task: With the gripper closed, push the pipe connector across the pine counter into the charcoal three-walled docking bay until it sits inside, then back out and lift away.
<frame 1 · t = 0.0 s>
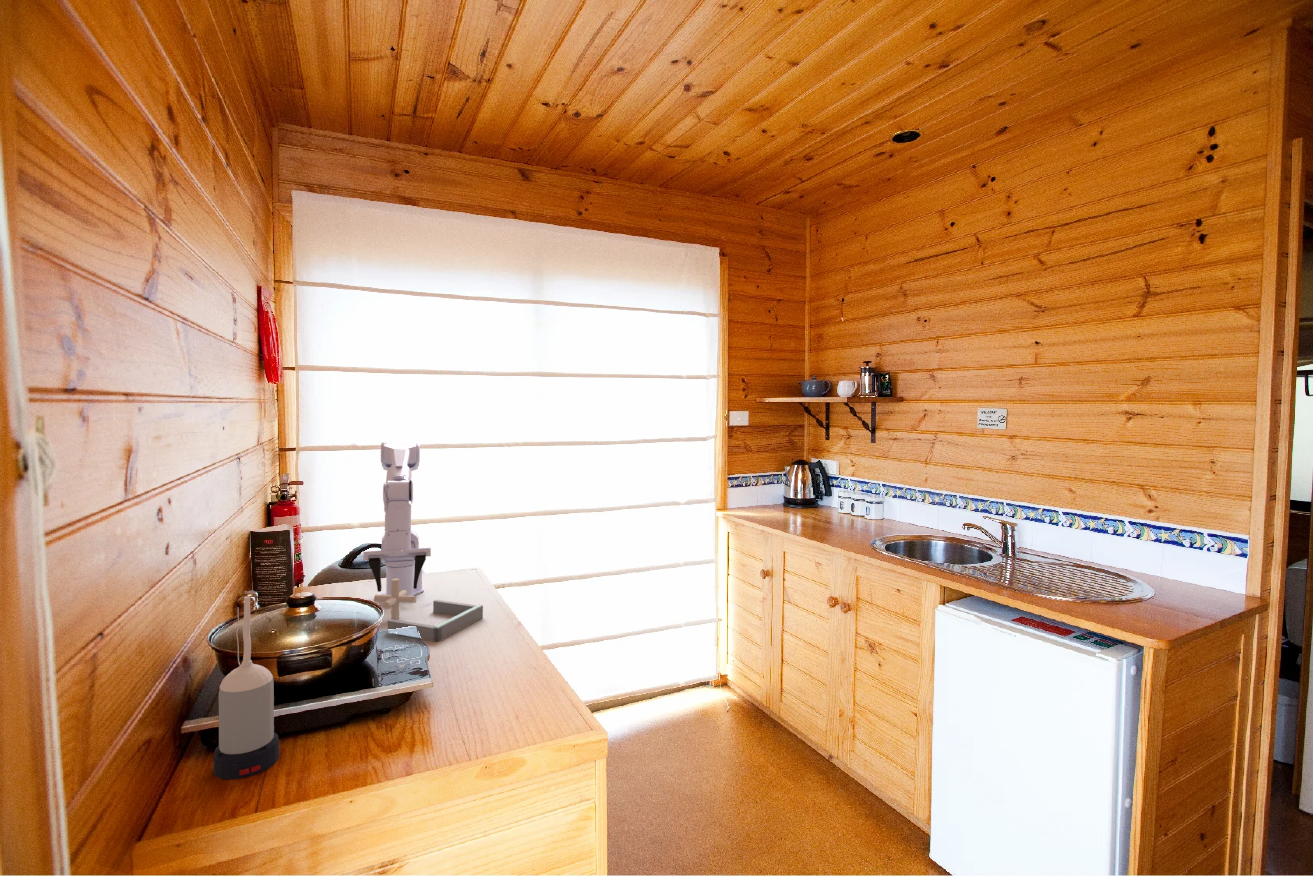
hand: (397, 589, 142), 11 cm above the worktop, tool pointing down, fingers open, 7 cm apart
docking bay: (435, 624, 149), on the worktop
pipe connector: (395, 619, 153), on the worktop
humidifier: (247, 764, 90), on the worktop
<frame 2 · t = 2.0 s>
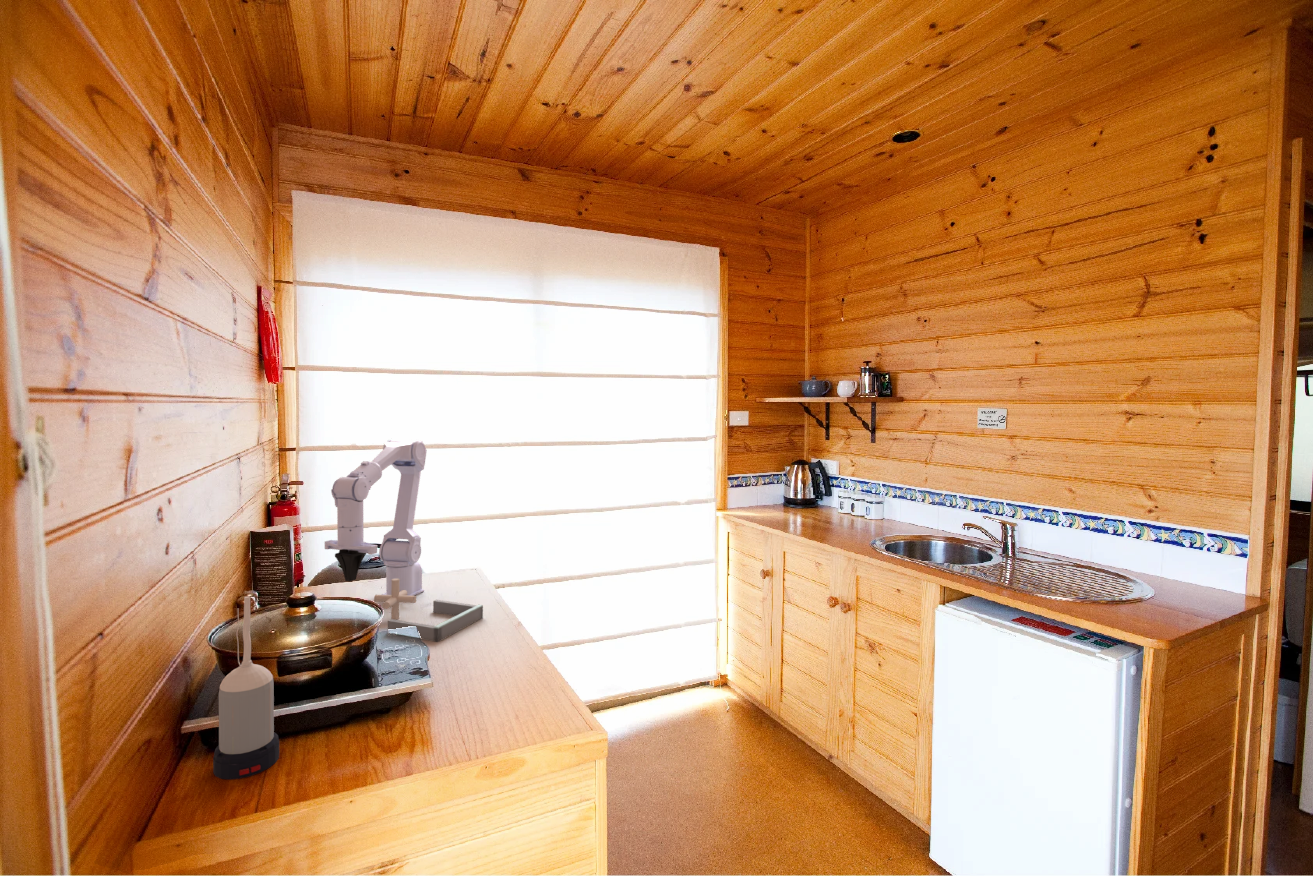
hand: (350, 580, 150), 10 cm above the worktop, tool pointing down, fingers closed
nothing on the worktop moved.
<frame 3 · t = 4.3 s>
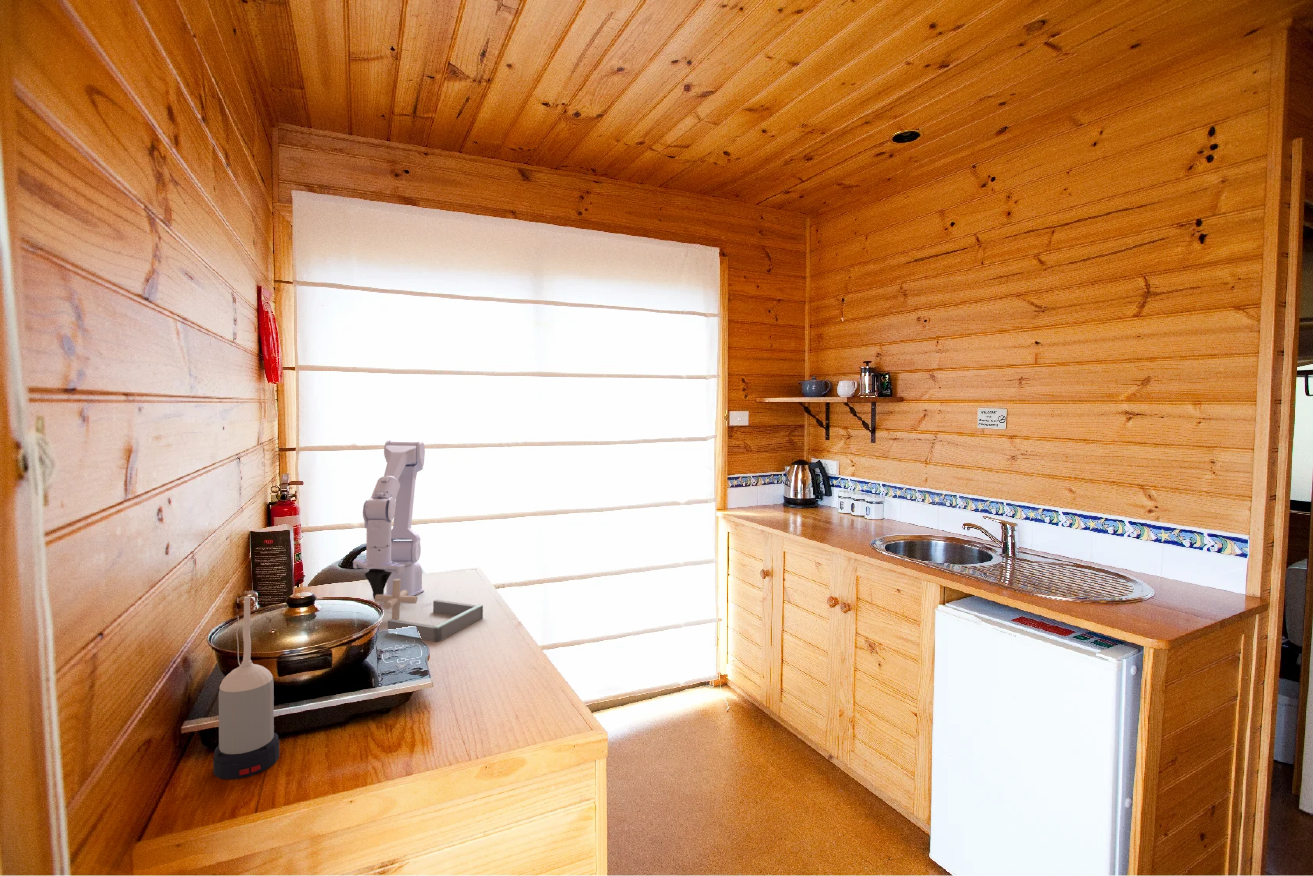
hand: (378, 598, 154), 5 cm above the worktop, tool pointing down, fingers closed, pressing on pipe connector
pipe connector: (395, 619, 153), on the worktop, touching gripper
everything else where it was.
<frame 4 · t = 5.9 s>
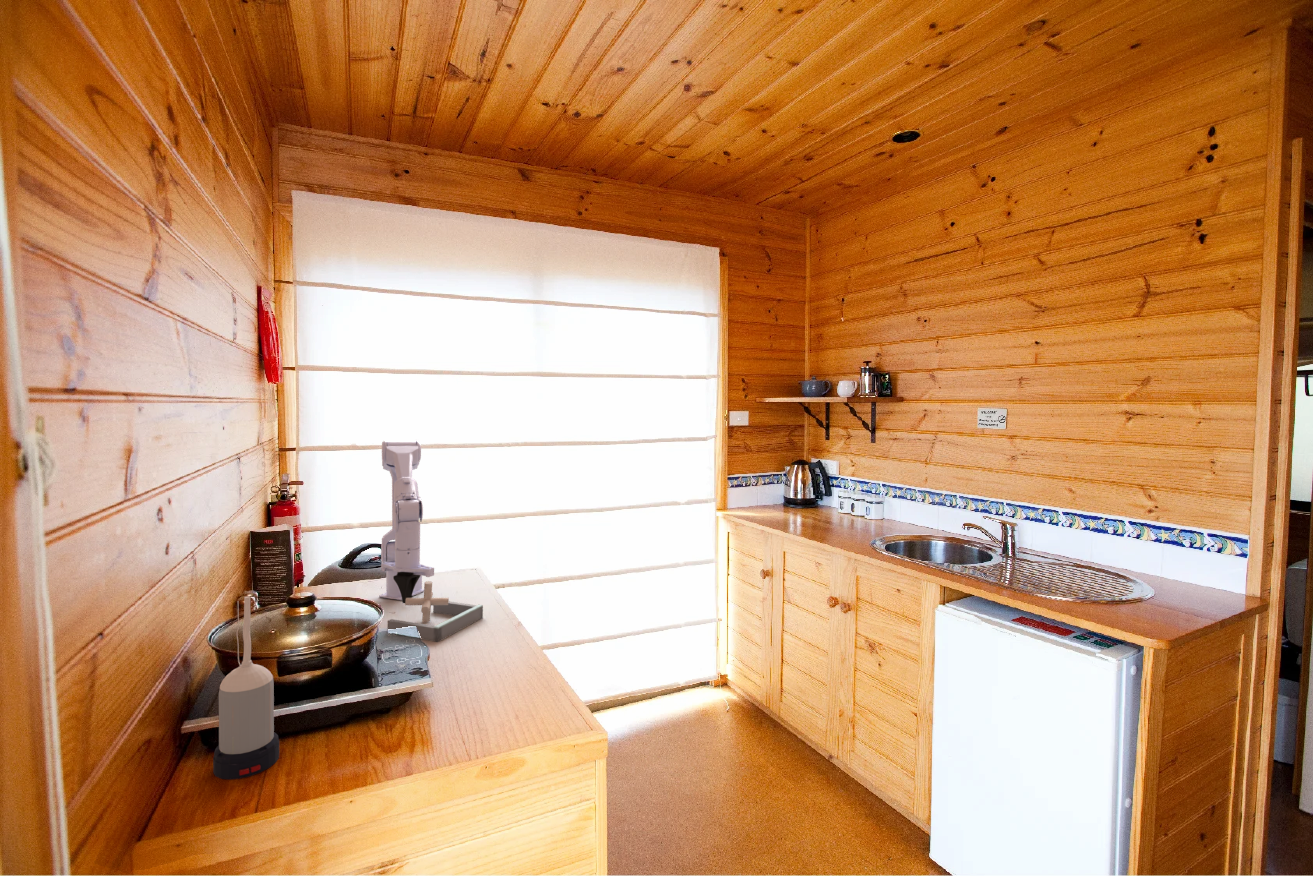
hand: (407, 602, 151), 5 cm above the worktop, tool pointing down, fingers closed, pressing on pipe connector
pipe connector: (426, 621, 152), on the worktop, touching gripper
everything else where it was.
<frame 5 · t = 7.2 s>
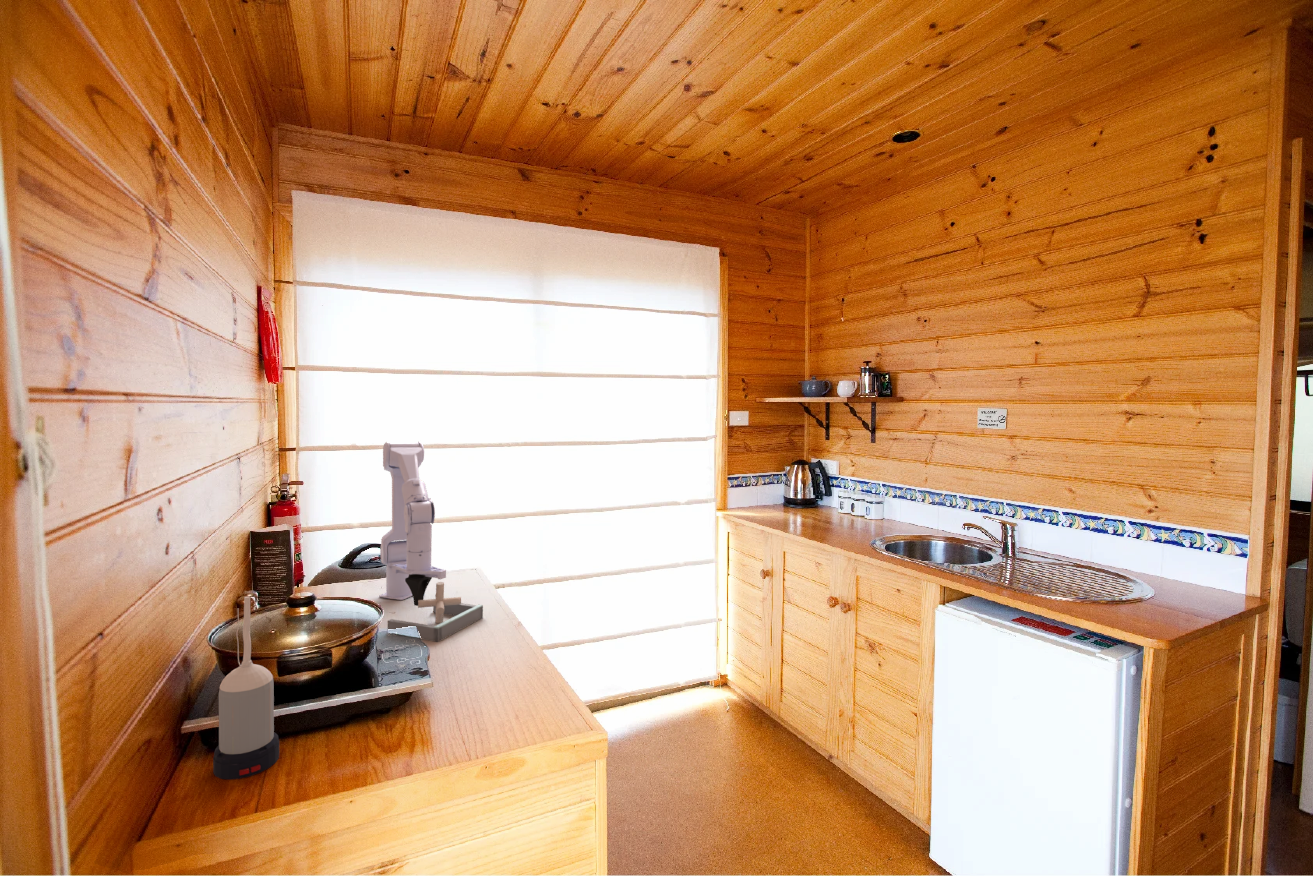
hand: (418, 604, 150), 5 cm above the worktop, tool pointing down, fingers closed, pressing on pipe connector
pipe connector: (439, 622, 151), on the worktop, touching gripper
everything else where it was.
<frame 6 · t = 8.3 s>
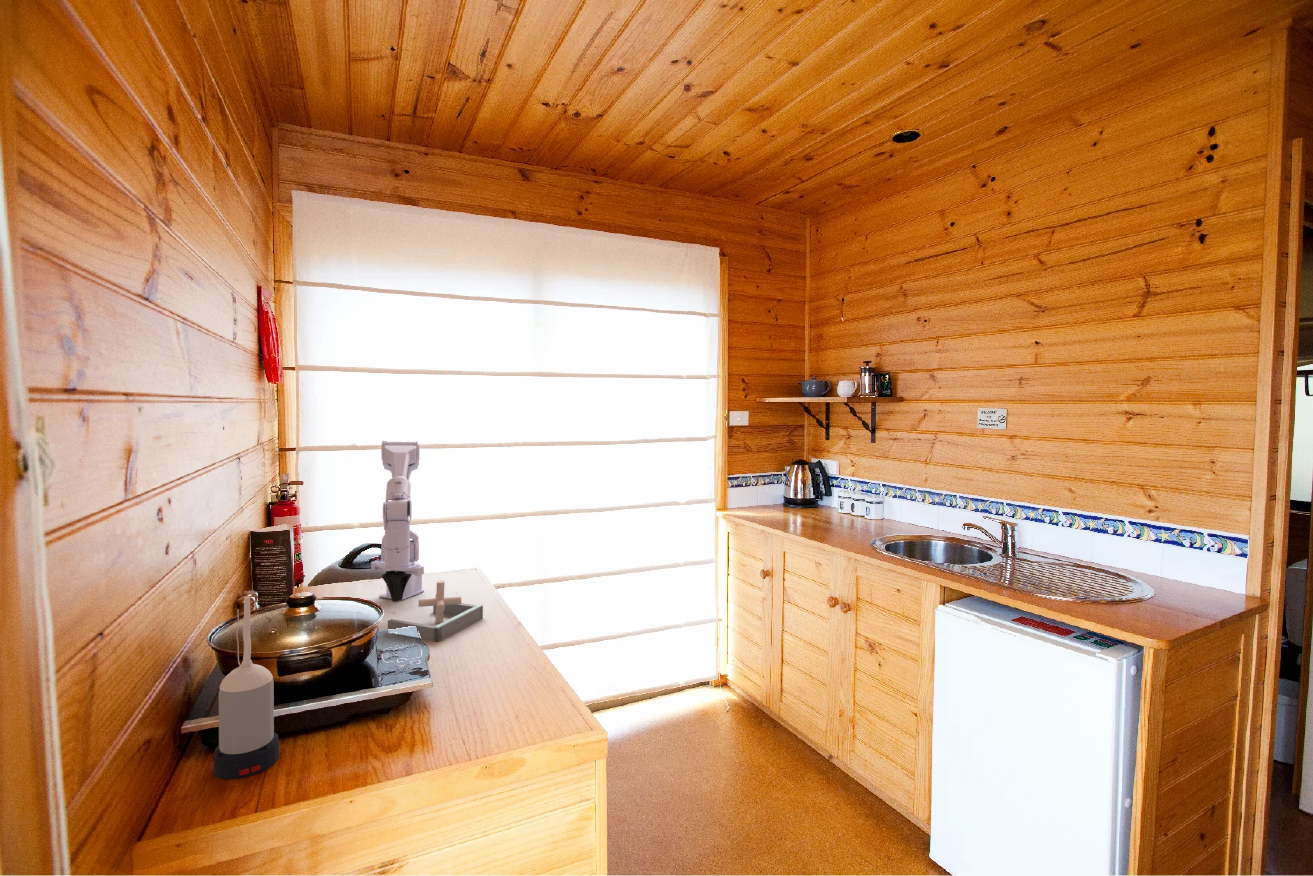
hand: (397, 600, 152), 5 cm above the worktop, tool pointing down, fingers closed
pipe connector: (439, 622, 151), on the worktop
everything else where it was.
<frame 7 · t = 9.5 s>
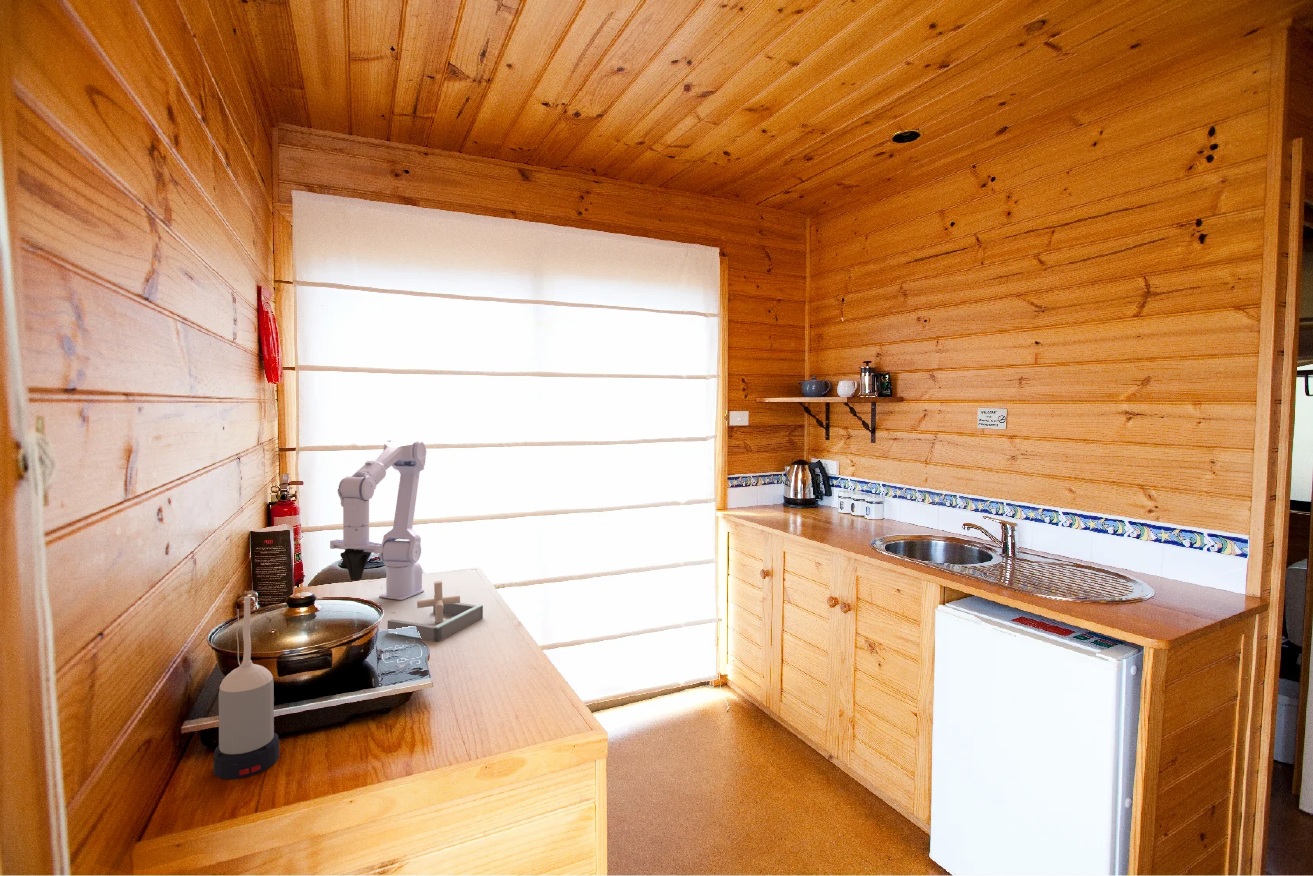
hand: (356, 579, 150), 10 cm above the worktop, tool pointing down, fingers closed
nothing on the worktop moved.
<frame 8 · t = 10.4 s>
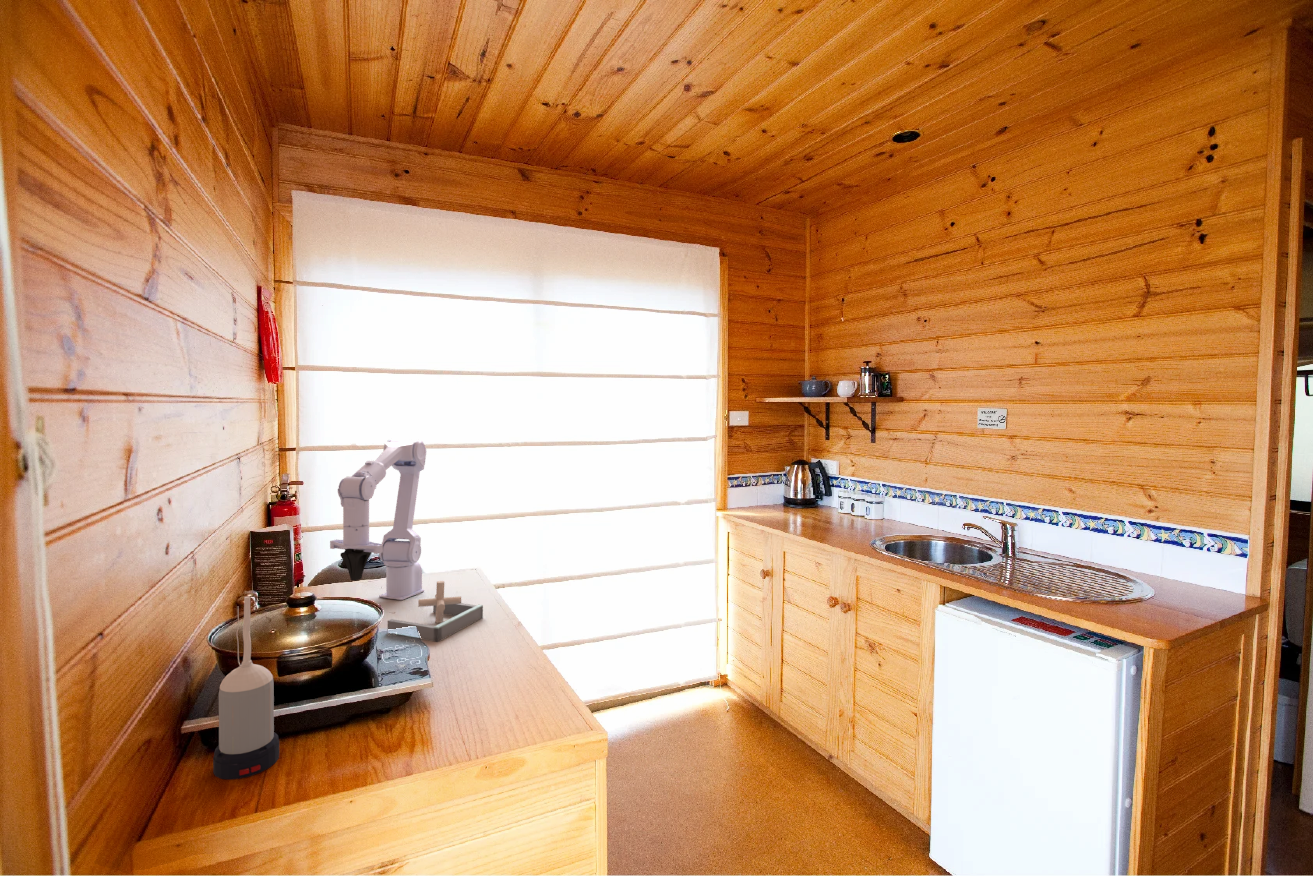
hand: (356, 579, 150), 10 cm above the worktop, tool pointing down, fingers closed
nothing on the worktop moved.
at the end: pipe connector inside the target area on the docking bay (2.2 cm from its centre), point 0.0 cm above the docking bay's base; pipe connector tilted 1°; pipe connector moved 11.8 cm from its start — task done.
